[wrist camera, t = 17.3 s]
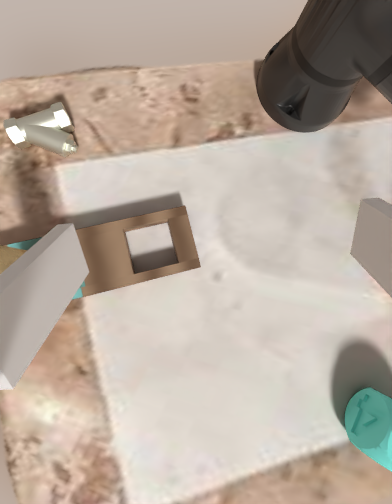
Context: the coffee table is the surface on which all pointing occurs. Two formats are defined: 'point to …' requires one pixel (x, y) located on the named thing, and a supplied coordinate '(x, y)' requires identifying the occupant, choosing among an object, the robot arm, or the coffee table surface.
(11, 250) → the brass peg
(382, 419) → the decorative dice
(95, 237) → the walnut rail
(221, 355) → the coffee table surface
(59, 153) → the pipe fitting
